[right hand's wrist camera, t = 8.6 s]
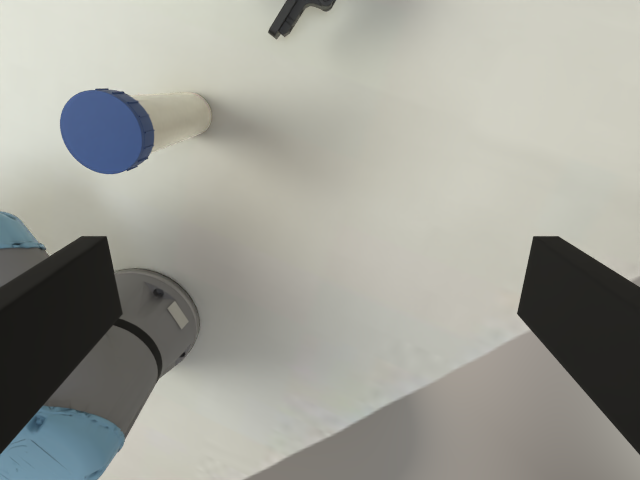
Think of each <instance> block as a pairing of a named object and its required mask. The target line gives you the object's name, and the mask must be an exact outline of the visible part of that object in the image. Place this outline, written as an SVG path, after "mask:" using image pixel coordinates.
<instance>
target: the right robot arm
mask: <svg viewBox="0 0 640 480" xmlns="http://www.w3.org/2000/svg"><path fill="white" fill-rule="evenodd" d="M45 250H46V248H45V246H44V245H43V244H41V243H38V241H37V240H36V239H35V238H34V236H33V235H32V234H31V233H30V231H29V230H28V229H27V227H26V226H25V225H24V224H23V222H22V221H21V220H20V219H19V218H17V217H16V216H14V215H12V214H10V213H6V212H0V480H97V479H98V478H99V477H100V476H101V475H102V474H103V472H104V471H105V470H106V468H107V467H108V465H109V464H110V462H111V461H112V459H113V458H114V456H115V455H116V453H117V452H119V450H120V449H121V448H122V446H123V444H124V442H125V438H126V437H127V435H128V433H129V431H130V429H131V428H132V426H133V424H134V422H135V420H136V419H137V417H138V415H139V413H140V411H141V410H142V408H143V406H144V404H145V402H146V401H147V399H148V397H149V395H150V393H151V392H152V390H153V388H154V386H155V384H156V383H157V381H158V379H159V378H160V377H162V376H163V375H164V374H166V373H167V372H168V371H169V370H171V369H172V368H173V367H174V366H176V365H177V364H178V363H179V362H181V361H182V360H183V359H184V358H185V357H186V355H187V354H188V353H189V352H190V350H191V349H192V347H193V345H194V343H195V341H196V339H197V336H198V332H199V316H198V312H197V309H196V307H195V305H194V303H193V301H192V299H191V298H190V296H189V295H188V294H187V293H186V292H185V291H184V289H183V288H181V287H180V286H179V285H178V284H177V283H175V282H174V281H172V280H171V279H169V278H167V277H166V276H164V275H161V274H159V273H156V272H153V271H149V270H144V269H124V270H120V271H116V272H114V269H113V265H112V260H111V255H110V250H109V246H108V241H107V236H82V237H80V238H78V239H77V240H75V241H74V242H72V243H70V244H69V245H67V246H66V247H64V248H62V249H61V250H59V251H58V252H56V253H54V254H53V255H51V256H50V257H49V255H48V254H47V253H46V251H45ZM517 314H518V315H519V317H520V318H521V319H522V320H523V321H524V322H525V323H526V325H527V326H528V327H529V328H530V329H531V330H532V332H533V333H534V334H535V335H536V336H537V337H538V338H539V339H540V341H541V342H542V343H543V344H544V345H545V346H546V348H547V349H548V350H549V351H550V352H551V353H552V354H553V356H554V357H555V358H556V359H557V360H558V361H559V363H560V364H561V365H562V366H563V367H564V368H565V369H566V371H567V372H568V373H569V374H570V375H571V376H572V377H573V379H574V380H575V381H576V382H577V383H578V384H579V385H580V387H581V388H582V389H583V390H584V391H585V392H586V393H587V395H588V396H589V397H590V398H591V399H592V400H593V402H594V403H595V404H596V405H597V406H598V407H599V408H600V410H601V411H602V412H603V413H604V414H605V415H606V416H607V418H608V419H609V420H610V421H611V422H612V423H613V424H614V426H615V427H616V428H617V429H618V430H619V431H620V433H621V434H622V435H623V436H624V437H625V438H626V439H627V441H628V442H629V443H630V444H631V445H632V446H633V447H634V449H635V450H636V451H637V452H638V453H639V454H640V287H639V286H637V285H635V284H634V283H632V282H631V281H629V280H627V279H626V278H624V277H623V276H621V275H619V274H618V273H616V272H615V271H613V270H611V269H610V268H608V267H606V266H605V265H603V264H602V263H600V262H598V261H597V260H595V259H594V258H592V257H590V256H589V255H587V254H586V253H584V252H582V251H581V250H579V249H578V248H576V247H574V246H573V245H571V244H570V243H568V242H566V241H565V240H563V239H562V238H560V237H558V236H533V241H532V246H531V250H530V255H529V260H528V265H527V269H526V274H525V279H524V284H523V288H522V293H521V298H520V303H519V308H518V312H517Z"/></svg>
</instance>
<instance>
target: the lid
mask: <svg viewBox="0 0 640 480" xmlns="http://www.w3.org/2000/svg"><path fill="white" fill-rule="evenodd" d="M60 129H61V134H62V138H63V140H64V143H65V145H66V147H67V149H68V150H69V152H70V153H71V154H72V155H73V157H74V158H75V159H76V160H77V161H78V162H80V163H81V164H82V165H84V166H85V167H87V168H89V169H91V170H93V171H96V172H99V173H103V174H116V173H120V172H123V171H125V170H127V171H129V170H131V169H133V168H136V167H138V166H137V165H139V164H141V163H142V162H143V161H144V160H146V159H148V156H149V154H150V153H151V151H152V148H153V146H154V145H153V144H154V131H155V130H154V129H153V125H152V122H151V119H150V117H149V114H148V113H147V112H146V110H145V109H144V108H143V107H142V105H141V104H140V103H139V101H138V100H137V101H136V100H135V99H134V98H132V97H131V96H129V95H127V94H125V93H124V92H120V91H116V90H108V89H95V90H89V91H83V92H80V93H78V94H76V95H74V96H73V97H72V98H71V99H70V100H69V101H68V102H67V103H66V105H65V106H64V108H63V110H62V114H61V119H60Z"/></svg>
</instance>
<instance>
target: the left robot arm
mask: <svg viewBox="0 0 640 480" xmlns="http://www.w3.org/2000/svg"><path fill="white" fill-rule="evenodd" d="M335 1H336V0H287V1H286V3H285V4H284V6H283V7H282V9H281V11H280V12H279V14H278V16H277V17H276V19H275V21H274V22H273V24H272V26H271V27H270V29H269V31H268V33H269V34H270V35H272V36H273V37H274V38H275V39H277V38H278V37H279V36H280V34H281V35H283V36H284V37H285V36H287V35H288V34H290V32H291V30H292V29H293V27H294V26H295V24H296V22H297V21H298V19H299V18H300V16H301V14H302V13H303V11H304V10H305V9H306V8H307V7H309V6H314V7H317V8H320V9H322V10H323V11H329V10H330V9H331V8H332V6H333V5H334V3H335Z"/></svg>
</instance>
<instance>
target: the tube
mask: <svg viewBox="0 0 640 480" xmlns="http://www.w3.org/2000/svg"><path fill="white" fill-rule="evenodd" d="M129 96H131V97H132V98H134V99H135V100H136V101H137V100H138V101H139V103H140V104H141V105H142V107H143V108H144V109H145V110H146V112H147V113H148V114H149V117H150V119H151V122H152V125H153V129H154V130H155V131H154V144H153V145H154V146H153V148H152V151H151V153H154V152H156V151H159V150H161V149H164V148H166V147H169V146H172V145H174V144H177V143H179V142H182V141H184V140H187V139H189V138H192V137H194V136H197V135H200V134H202V133H203V132H205V131H206V130H207V129H208V127H209V126H210V123H211V119H212V114H211V109H210V107H209V105H208V103H207V102H206V100H205V99H204V98H203V97H201V96H200V95H198V94H196V93H193V92H180V93H161V94H143V95H129ZM151 153H150V154H151Z"/></svg>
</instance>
